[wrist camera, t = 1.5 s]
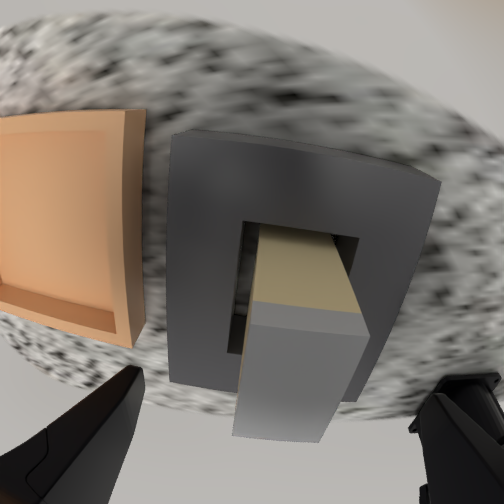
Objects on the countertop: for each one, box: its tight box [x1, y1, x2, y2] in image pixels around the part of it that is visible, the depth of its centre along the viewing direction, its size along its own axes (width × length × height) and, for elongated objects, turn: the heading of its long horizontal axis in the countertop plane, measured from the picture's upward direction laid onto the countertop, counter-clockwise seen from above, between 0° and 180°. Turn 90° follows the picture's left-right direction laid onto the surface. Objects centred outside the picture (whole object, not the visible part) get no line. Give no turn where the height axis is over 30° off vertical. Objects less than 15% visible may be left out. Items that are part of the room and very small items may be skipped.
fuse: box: [232, 223, 370, 443], centre depth 12 cm, size 3×5×8 cm, turn 173°
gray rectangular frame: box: [166, 129, 441, 402], centre depth 14 cm, size 10×12×3 cm
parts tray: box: [0, 109, 146, 348], centre depth 14 cm, size 12×12×2 cm
